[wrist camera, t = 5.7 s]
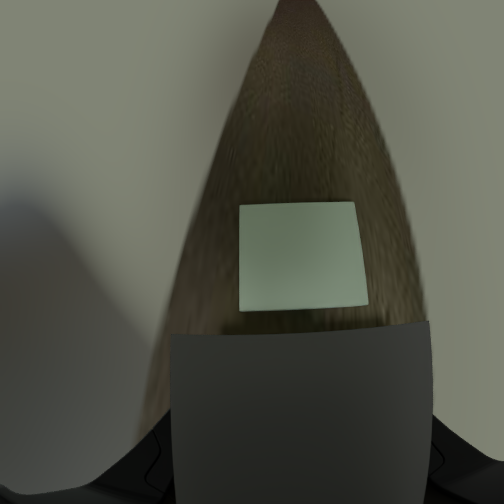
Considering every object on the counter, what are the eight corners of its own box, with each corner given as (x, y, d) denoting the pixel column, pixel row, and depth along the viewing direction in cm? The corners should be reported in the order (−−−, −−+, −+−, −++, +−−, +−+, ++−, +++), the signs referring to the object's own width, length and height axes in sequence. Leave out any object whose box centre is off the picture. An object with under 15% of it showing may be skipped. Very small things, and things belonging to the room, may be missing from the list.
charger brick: (326, 427, 12) (416, 532, 3) (243, 431, 13) (182, 550, 3) (324, 350, 14) (428, 320, 4) (242, 353, 14) (171, 333, 4)
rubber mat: (366, 305, 22) (368, 304, 22) (240, 311, 23) (239, 310, 23) (352, 204, 26) (353, 201, 25) (240, 208, 26) (239, 205, 26)
